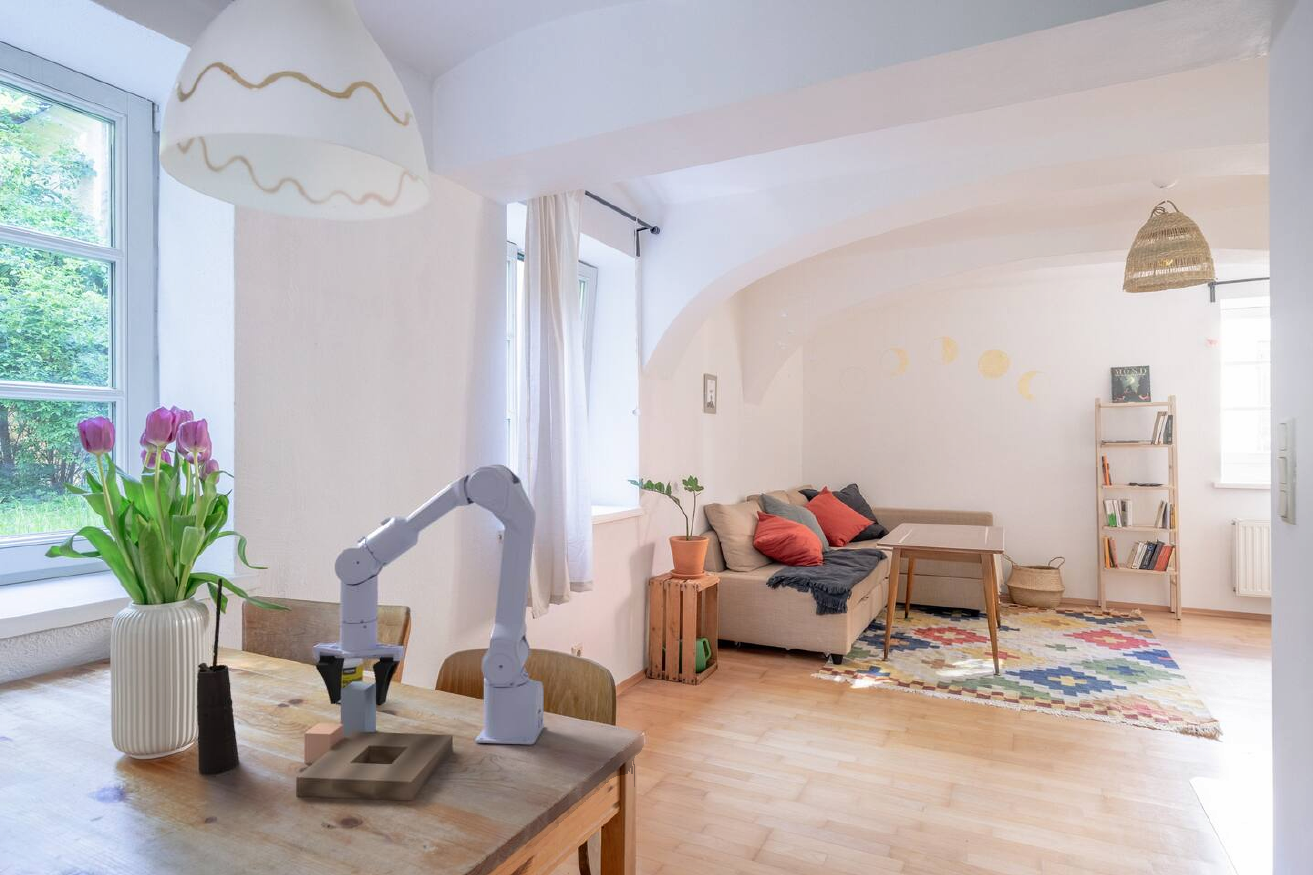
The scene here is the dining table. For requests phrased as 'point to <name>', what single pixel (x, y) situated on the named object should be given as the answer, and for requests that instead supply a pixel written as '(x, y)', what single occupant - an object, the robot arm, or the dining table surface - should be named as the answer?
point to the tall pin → (358, 707)
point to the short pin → (321, 740)
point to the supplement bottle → (352, 671)
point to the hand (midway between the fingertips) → (358, 702)
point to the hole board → (376, 766)
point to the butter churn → (215, 712)
